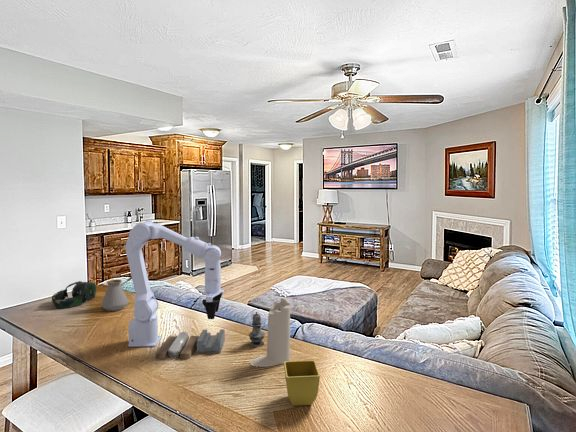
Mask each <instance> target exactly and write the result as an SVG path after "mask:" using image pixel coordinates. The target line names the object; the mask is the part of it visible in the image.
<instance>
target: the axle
mask: <svg viewBox="0 0 576 432" xmlns="http://www.w3.org/2000/svg"><path fill="white" fill-rule="evenodd" d="M176 336H177V338H176V339H175V341H174V342H173V344H172V345H171V347H170V348H169V350H168V357H170V358H173V359H174V358H178V357H180V356H181V355H180V353H181V352H182V350H183V348H184V347H185V345H186V343H187V342H188V340H189V338H190V336H189V334H188V333H187V332H185V331H181V332H179V334H178V335H176Z"/></svg>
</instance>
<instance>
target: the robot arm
mask: <svg viewBox="0 0 576 432" xmlns="http://www.w3.org/2000/svg"><path fill="white" fill-rule="evenodd" d="M155 239H164V240H166V241H168V242H172V243H175V244H176V245H180V246H182V247H183V248H184V251H185V252H187V253H189V254H190V255H194V256H196V257H198V258H200V259H203V261H204V295H205V298H204V299H203V300H201V301H202V302H201V303H202V305H203V306H204V309H205V312H206V316H207V319H208V320H214V319H215V317H216V316H215V315H216V312H217V313H218V312H219V309H220V308H219V307H220V302H221V298H222V296H223V294H224V292H225V290H224V289H222V272H221V271H222V268H221V255H222V251H221V250H222V249H221V248H220V247H219V246H217V245H216V244H212V243H210V242H208V243H207V242H206V241H203V240H201V239H200V237H199V236H191V237H186V236H184V235H182V234H181V233H179V232H176V231H174V230H172V229H170V228H167V227H166V226H165V225H162V224H159V223H157V222H156V223H155V222H154V221H151V220H146V221H143V222H141V223H136V224H134V226H133V227H132V228H131V229H130V230H129V235H128V238H127V240H126V243H125V247H124V248H125V249H124V250H125V254H126V258H127V262H128V266H129V270H130V271H129V272H130V277H131V276H132V279H131V280H132V285H133V290H134V294H135V298H134V303H133V304H134V308H133V317H134V318H131V319H130V321H129V322H128V323H129V324H128V347H129V348H131V347H136V348H137V347H138V348H139V347H155V346H156V345H157V344H158V343H159V342H160V340H161V339H162V335H159V333H158V332H159V331H158V315H157V311H158V309H159V305H160V304H159V302H158V300H157V299H156V297H155V294H154V292H153V291H152V290H151V286H150V281H149V276H148V272H147V269H146V268H147V267H146V263H145V258H144V254H143V248H144V246H145V245H146V244H147V243H148V241H149V240H155Z"/></svg>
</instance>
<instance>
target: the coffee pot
mask: <svg viewBox="0 0 576 432" xmlns="http://www.w3.org/2000/svg"><path fill="white" fill-rule="evenodd" d="M131 280H132V276H131V275H130V277H129V278H127V280H125V281H122V279H111V280H107V281H106V284H107V286H108V287H107V289H106V291H105V294H104V296H103V299H102V301H101V305H100V306H101V307H102V308H103V309H104V310H105V311H107V312H118V311H121V310H123V309H125V307H127V305H128V304H129V298H128V297H127V294H126V293H125V291H124V289H123V286H124V285H125V284H127V283H128V282H129V281H131Z"/></svg>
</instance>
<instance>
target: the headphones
mask: <svg viewBox="0 0 576 432" xmlns="http://www.w3.org/2000/svg"><path fill="white" fill-rule="evenodd" d="M72 286H73V288H72V290H71V296H72V297H69V294H68V288H70V287H72ZM96 295H97V285H96V283H95V282H89V281H80V280H79V281H75V282H73V283H70V284H68V285H67V286H66V287H65V289H61V290H60V291H57V292H56V293H54V294H53V295H52V296H51V301H52V304H53V307H54V309H61V310H62V309H67V308H71V307H75V306H79V305H83V304H85V303H86V302H87V303H88V302H89V301H91V300H93V299H94V298H96Z"/></svg>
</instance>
